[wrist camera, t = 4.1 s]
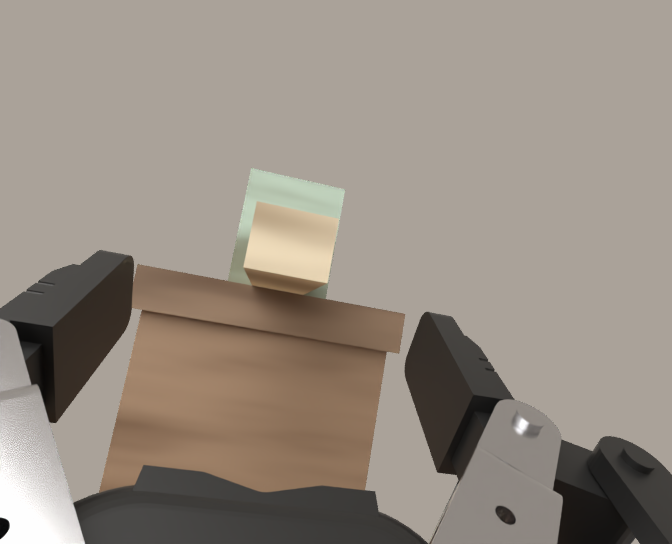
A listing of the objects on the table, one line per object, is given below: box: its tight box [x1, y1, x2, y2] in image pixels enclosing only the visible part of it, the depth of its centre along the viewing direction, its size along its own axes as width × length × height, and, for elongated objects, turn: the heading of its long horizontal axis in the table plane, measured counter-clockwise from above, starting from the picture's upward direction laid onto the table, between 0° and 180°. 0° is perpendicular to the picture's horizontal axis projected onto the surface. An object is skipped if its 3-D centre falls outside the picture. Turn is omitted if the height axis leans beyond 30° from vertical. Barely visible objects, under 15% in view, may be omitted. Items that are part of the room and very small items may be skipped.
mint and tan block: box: [228, 168, 345, 299], centre depth 19 cm, size 14×5×6 cm, turn 10°
